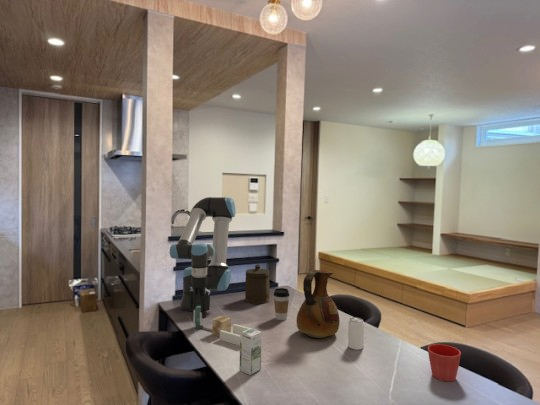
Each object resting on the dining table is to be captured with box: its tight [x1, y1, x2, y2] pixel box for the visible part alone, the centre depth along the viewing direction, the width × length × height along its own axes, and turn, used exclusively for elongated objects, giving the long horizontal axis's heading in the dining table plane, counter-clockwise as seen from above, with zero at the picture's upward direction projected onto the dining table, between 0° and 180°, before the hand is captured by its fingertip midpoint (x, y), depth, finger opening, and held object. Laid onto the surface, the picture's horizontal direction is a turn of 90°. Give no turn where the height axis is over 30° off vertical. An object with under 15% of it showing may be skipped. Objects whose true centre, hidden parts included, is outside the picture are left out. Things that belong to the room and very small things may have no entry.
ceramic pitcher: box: [296, 269, 340, 339], centre depth 169 cm, size 20×20×30 cm
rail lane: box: [219, 323, 260, 347], centre depth 162 cm, size 14×10×4 cm
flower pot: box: [427, 343, 462, 382], centre depth 131 cm, size 11×11×10 cm
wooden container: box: [244, 264, 271, 305], centre depth 222 cm, size 15×15×22 cm
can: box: [347, 316, 365, 351], centre depth 155 cm, size 6×6×12 cm
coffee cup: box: [273, 287, 290, 321], centre depth 190 cm, size 8×8×15 cm
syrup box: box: [239, 327, 263, 376], centre depth 134 cm, size 6×6×14 cm
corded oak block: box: [195, 306, 232, 337], centre depth 172 cm, size 19×6×10 cm, turn 58°
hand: (199, 323), depth 176 cm, fingers closed on corded oak block, 4 cm apart
